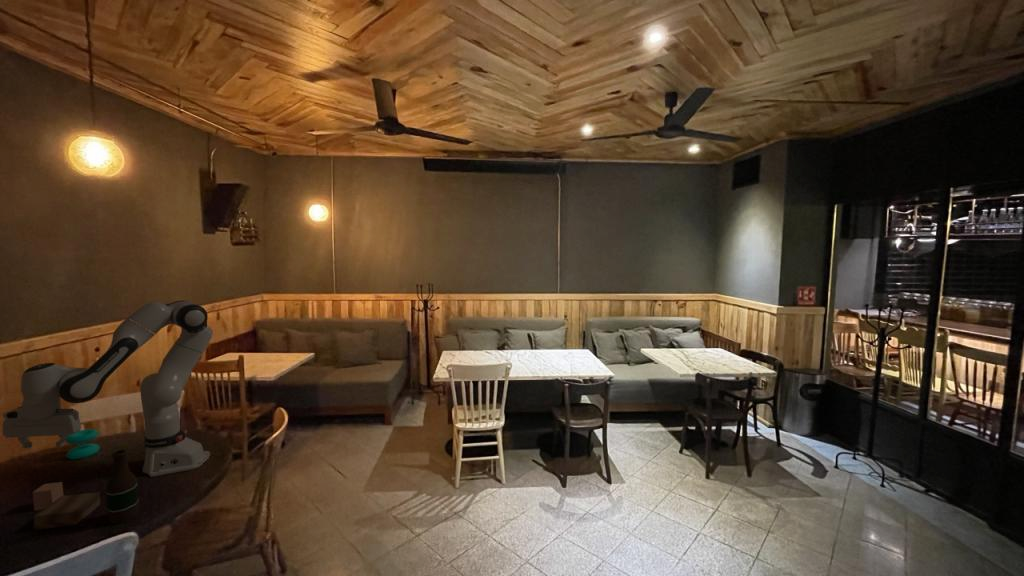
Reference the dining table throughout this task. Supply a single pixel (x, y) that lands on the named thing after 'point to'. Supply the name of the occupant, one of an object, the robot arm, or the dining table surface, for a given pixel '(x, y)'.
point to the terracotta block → (47, 495)
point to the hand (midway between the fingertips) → (44, 446)
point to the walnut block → (67, 510)
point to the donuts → (84, 449)
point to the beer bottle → (122, 491)
